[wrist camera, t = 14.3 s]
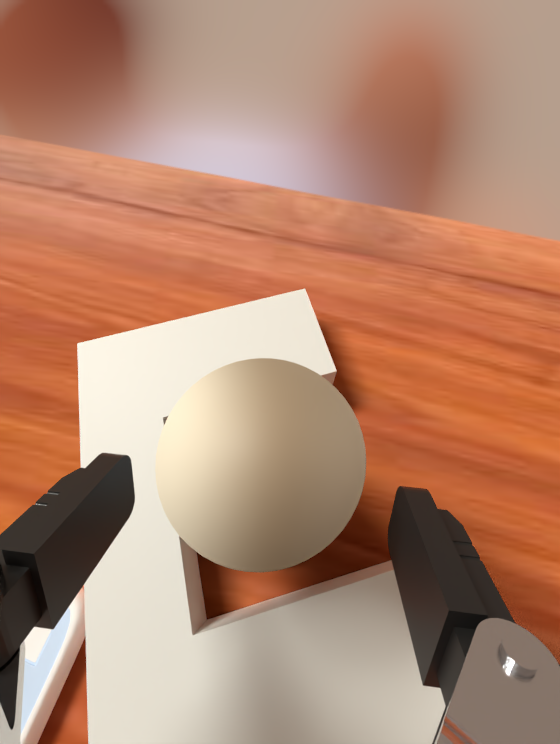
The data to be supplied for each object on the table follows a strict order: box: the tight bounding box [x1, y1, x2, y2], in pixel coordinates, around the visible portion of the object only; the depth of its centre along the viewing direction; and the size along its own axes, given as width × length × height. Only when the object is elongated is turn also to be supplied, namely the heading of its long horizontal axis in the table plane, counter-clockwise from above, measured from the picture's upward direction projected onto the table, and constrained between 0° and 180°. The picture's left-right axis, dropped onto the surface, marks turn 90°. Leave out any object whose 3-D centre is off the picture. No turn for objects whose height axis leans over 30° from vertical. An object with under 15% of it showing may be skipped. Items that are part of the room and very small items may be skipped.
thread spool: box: [155, 358, 366, 572], centre depth 13 cm, size 6×6×10 cm
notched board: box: [77, 289, 445, 744], centre depth 16 cm, size 13×20×2 cm, turn 16°
